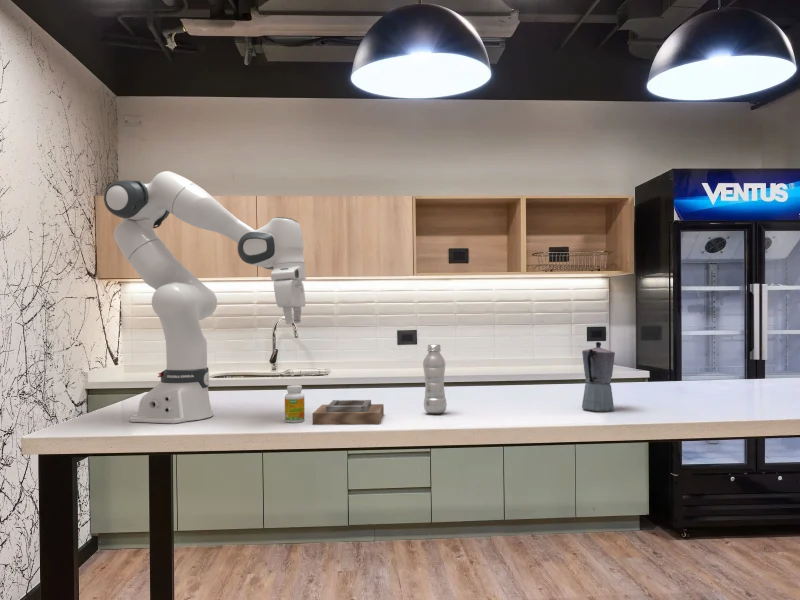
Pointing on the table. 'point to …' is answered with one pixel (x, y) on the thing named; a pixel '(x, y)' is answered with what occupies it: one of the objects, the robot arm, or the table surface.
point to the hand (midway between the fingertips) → (293, 323)
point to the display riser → (349, 412)
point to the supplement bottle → (294, 404)
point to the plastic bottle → (434, 381)
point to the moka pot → (598, 379)
